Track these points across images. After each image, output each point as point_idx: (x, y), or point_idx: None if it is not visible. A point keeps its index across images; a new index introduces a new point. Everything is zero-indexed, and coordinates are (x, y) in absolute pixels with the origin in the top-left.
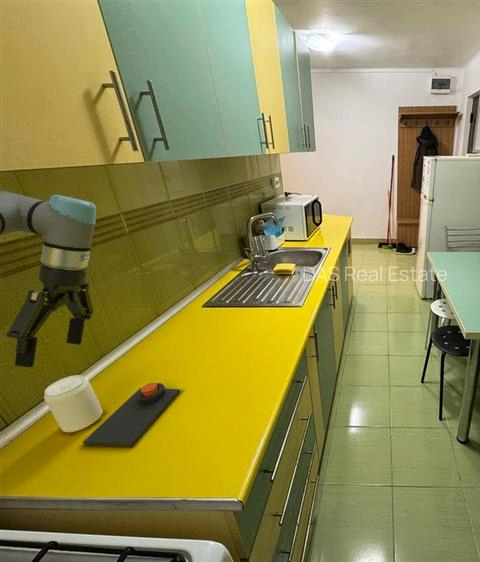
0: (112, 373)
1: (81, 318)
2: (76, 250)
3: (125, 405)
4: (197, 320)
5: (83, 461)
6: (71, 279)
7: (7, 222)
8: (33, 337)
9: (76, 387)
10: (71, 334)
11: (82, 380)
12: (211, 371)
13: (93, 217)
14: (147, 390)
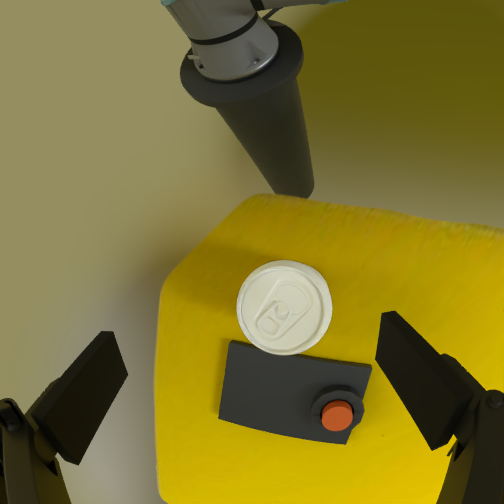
0: (445, 250)
1: (456, 436)
2: None
3: (318, 369)
4: None
5: (201, 356)
6: None
7: None
8: (67, 455)
9: (266, 350)
10: (401, 354)
11: (300, 344)
12: (394, 462)
13: None
14: (325, 422)
